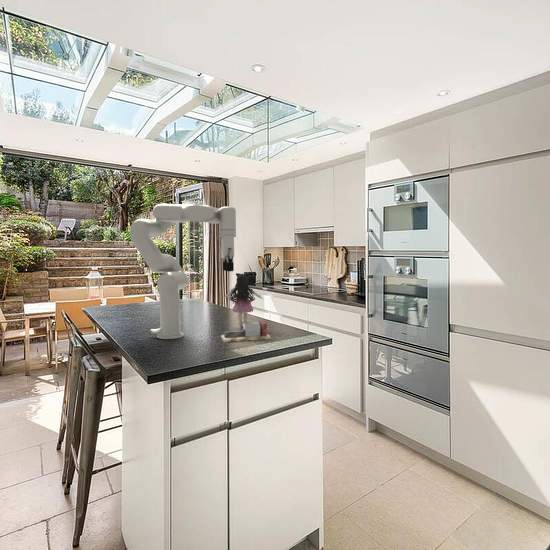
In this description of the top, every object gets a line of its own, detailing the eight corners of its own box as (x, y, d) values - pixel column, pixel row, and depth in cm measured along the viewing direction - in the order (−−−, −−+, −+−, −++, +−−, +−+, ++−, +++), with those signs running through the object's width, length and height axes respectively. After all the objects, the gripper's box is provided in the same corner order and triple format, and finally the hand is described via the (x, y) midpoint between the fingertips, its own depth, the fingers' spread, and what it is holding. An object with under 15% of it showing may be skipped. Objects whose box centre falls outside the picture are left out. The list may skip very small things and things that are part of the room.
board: (224, 342, 167) (224, 326, 167) (220, 337, 177) (220, 322, 176) (270, 339, 173) (270, 323, 173) (265, 334, 183) (265, 320, 183)
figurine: (264, 326, 204) (264, 272, 203) (262, 330, 194) (261, 273, 192) (224, 326, 206) (224, 272, 205) (220, 329, 196) (219, 273, 195)
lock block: (245, 337, 172) (245, 324, 172) (242, 334, 178) (242, 322, 177) (260, 336, 174) (260, 323, 174) (257, 333, 180) (256, 321, 179)
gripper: (217, 234, 178) (217, 270, 178) (222, 232, 161) (223, 271, 162) (232, 235, 180) (232, 270, 181) (239, 232, 163) (239, 271, 164)
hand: (228, 270), depth 171 cm, fingers open, 9 cm apart
